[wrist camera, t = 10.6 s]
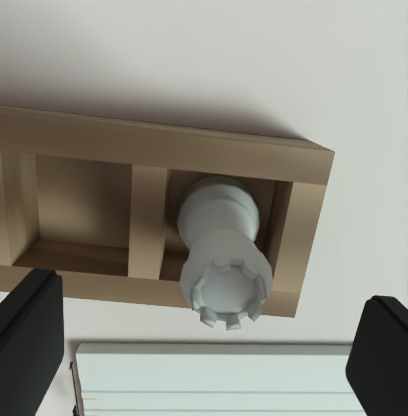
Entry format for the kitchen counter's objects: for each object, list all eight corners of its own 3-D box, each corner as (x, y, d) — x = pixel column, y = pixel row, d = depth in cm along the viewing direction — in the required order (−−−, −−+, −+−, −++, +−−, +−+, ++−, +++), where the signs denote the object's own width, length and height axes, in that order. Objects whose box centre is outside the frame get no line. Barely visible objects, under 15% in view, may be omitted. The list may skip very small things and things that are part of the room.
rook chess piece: (219, 155, 17) (233, 206, 9) (274, 213, 18) (325, 300, 11) (160, 211, 18) (130, 296, 10) (215, 263, 19) (224, 374, 12)
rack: (279, 280, 20) (294, 317, 17) (-104, 244, 19) (-167, 276, 16) (309, 140, 17) (335, 151, 14) (-138, 89, 16) (-225, 88, 13)
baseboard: (477, 441, 26) (519, 339, 23) (509, 481, 23) (562, 372, 20) (95, 440, 25) (82, 336, 22) (83, 481, 23) (66, 369, 20)
